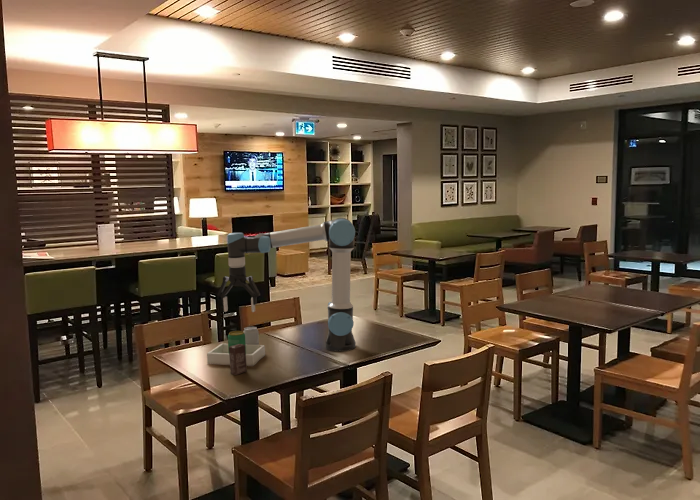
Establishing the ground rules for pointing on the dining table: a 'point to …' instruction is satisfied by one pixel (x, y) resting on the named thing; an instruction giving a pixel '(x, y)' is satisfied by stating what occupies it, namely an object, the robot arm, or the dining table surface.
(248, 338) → the can
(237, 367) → the box
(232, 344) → the beverage can
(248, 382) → the dining table surface
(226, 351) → the bus tub
